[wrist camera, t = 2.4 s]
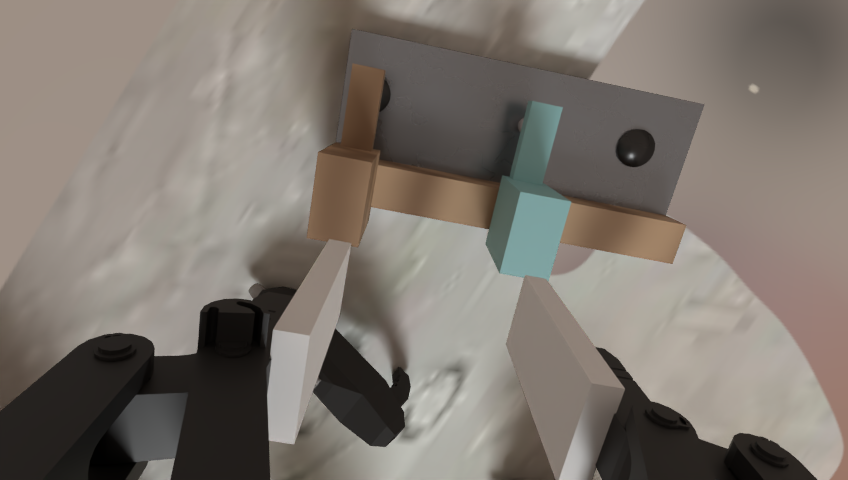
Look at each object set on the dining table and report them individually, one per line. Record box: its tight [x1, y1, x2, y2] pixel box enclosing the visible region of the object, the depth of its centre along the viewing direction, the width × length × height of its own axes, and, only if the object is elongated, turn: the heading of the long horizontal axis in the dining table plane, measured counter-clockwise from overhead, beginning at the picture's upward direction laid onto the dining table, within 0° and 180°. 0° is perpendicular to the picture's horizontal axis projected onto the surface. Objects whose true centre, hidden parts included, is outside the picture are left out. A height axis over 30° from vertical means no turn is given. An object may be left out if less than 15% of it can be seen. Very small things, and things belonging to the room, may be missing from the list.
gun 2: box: [249, 283, 411, 447], centre depth 39 cm, size 3×16×10 cm, turn 53°
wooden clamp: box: [307, 63, 686, 264], centre depth 32 cm, size 26×10×9 cm, turn 79°
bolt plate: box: [336, 29, 704, 215], centre depth 36 cm, size 26×12×1 cm, turn 79°
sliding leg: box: [486, 101, 571, 281], centre depth 32 cm, size 3×10×9 cm, turn 169°
